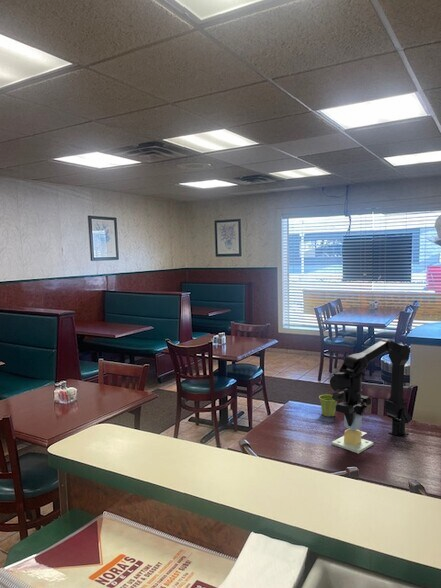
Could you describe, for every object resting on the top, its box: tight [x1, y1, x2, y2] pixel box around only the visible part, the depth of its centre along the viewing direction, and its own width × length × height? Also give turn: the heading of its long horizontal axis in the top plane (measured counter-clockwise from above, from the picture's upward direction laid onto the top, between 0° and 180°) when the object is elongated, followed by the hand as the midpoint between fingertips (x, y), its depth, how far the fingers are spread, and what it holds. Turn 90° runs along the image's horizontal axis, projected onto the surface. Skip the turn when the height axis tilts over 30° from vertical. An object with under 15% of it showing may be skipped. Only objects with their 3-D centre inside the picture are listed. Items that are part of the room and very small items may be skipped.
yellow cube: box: [343, 428, 363, 446], centre depth 180 cm, size 5×5×5 cm
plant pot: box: [318, 394, 339, 418], centre depth 214 cm, size 9×9×9 cm
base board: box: [331, 435, 374, 455], centre depth 180 cm, size 12×12×1 cm
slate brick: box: [343, 414, 363, 430], centre depth 179 cm, size 5×5×5 cm
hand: (353, 424), depth 179 cm, fingers closed on slate brick, 5 cm apart
